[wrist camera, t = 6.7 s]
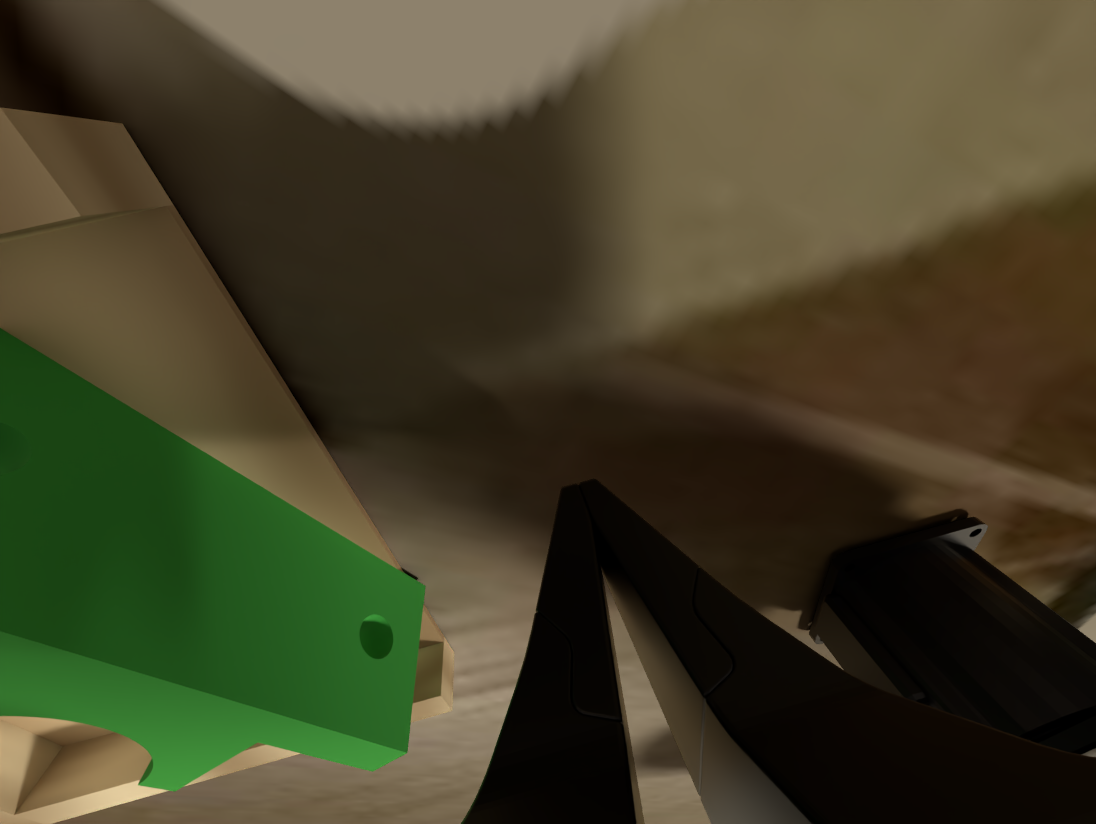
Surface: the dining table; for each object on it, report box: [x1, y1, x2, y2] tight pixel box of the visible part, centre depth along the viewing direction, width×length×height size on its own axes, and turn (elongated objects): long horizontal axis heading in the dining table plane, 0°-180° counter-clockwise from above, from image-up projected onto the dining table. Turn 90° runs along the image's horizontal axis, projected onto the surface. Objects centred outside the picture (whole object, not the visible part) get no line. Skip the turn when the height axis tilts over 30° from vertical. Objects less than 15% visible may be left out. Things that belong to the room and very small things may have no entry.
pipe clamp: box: [0, 328, 425, 791], centre depth 9 cm, size 11×4×5 cm, turn 34°
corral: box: [0, 107, 454, 824], centre depth 10 cm, size 15×17×2 cm
